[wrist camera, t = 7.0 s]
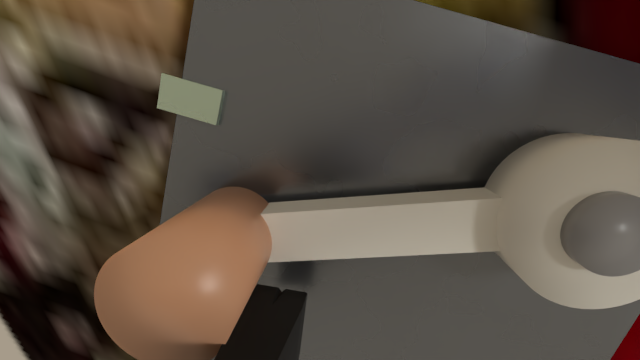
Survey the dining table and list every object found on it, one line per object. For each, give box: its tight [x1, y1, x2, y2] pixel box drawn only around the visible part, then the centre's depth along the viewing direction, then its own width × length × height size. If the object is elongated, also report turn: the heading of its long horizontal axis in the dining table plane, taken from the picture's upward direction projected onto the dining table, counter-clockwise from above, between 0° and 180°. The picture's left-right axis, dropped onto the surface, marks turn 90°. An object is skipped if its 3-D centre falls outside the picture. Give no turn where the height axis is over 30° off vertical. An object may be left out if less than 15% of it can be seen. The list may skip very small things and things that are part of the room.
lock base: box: [157, 0, 640, 360], centre depth 10 cm, size 16×16×1 cm
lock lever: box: [94, 133, 640, 360], centre depth 7 cm, size 4×12×4 cm, turn 96°
